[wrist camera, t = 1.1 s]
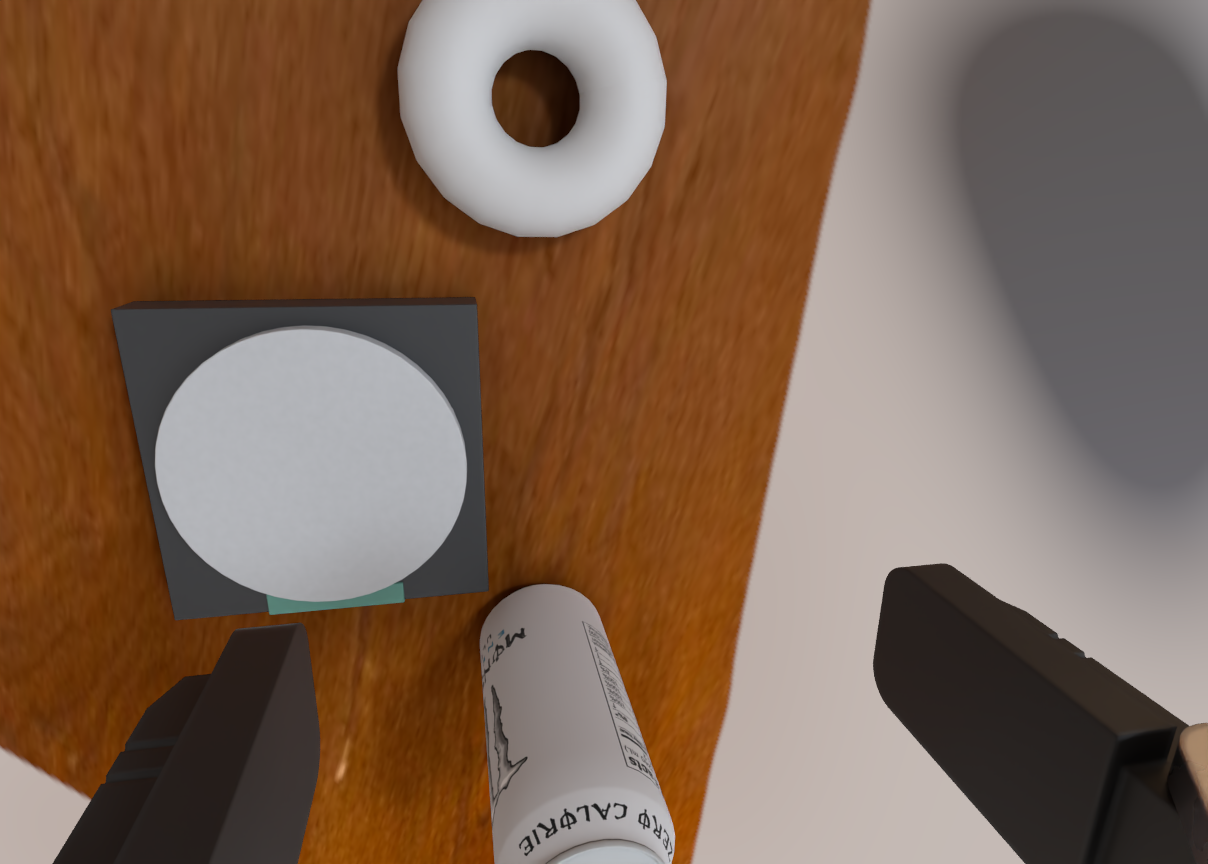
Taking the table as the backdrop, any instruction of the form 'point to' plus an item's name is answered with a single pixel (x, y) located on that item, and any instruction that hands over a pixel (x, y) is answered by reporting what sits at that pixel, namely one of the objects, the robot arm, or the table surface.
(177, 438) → the scale
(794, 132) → the table surface
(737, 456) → the table surface
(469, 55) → the donut
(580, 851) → the energy drink can
